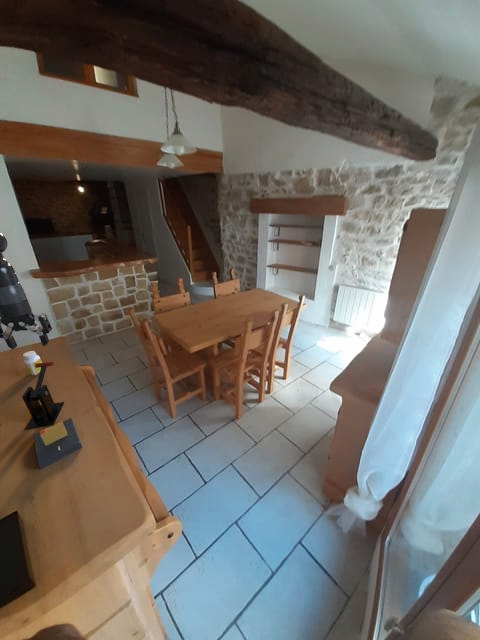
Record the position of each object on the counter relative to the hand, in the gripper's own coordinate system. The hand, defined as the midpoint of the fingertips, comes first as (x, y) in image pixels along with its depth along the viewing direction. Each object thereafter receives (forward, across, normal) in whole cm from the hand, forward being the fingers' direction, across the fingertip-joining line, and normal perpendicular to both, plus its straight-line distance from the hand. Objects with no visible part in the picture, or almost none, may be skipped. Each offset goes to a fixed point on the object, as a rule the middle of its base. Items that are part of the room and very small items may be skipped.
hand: (30, 346), depth 80 cm
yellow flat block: (+21, +8, -20) cm, 30 cm away
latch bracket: (+24, 0, -7) cm, 25 cm away
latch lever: (+13, 0, -2) cm, 13 cm away
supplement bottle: (+24, -13, +20) cm, 34 cm away
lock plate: (+24, +8, -20) cm, 32 cm away
